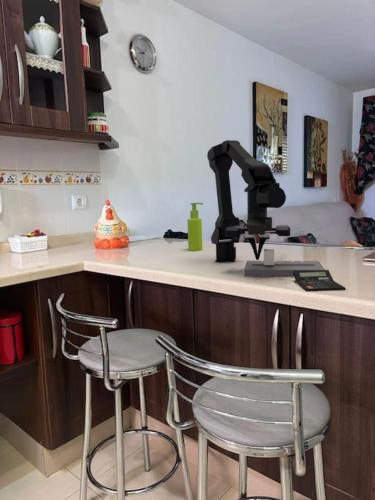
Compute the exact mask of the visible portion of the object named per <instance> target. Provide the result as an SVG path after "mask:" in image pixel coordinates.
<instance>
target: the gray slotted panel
mask: <svg viewBox="0 0 375 500" xmlns="http://www.w3.org/2000/svg"><path fill="white" fill-rule="evenodd" d="M307 270H326V269H325V268H324V267H323V265H322V263H321V262H320V261H319V260H274V265H264V260H246V262H245V264H244V268H243V276H244V277H275V278H278V277H284V278H285V277H287V278H288V277H289V278H294V275H293V271H307Z"/></svg>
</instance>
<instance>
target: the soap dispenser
mask: <svg viewBox="0 0 375 500" xmlns="http://www.w3.org/2000/svg"><path fill="white" fill-rule="evenodd" d="M197 205H204V203H203V202H190V206H191V210H190V211H189V213H190V214H189V218H187V221H186V222H187V242H188V246H187V247H188V251H189V252H199V251H203V230H202V229H203V227H202V226H203V224H202V218H199V210H198V209H197Z"/></svg>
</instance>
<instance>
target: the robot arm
mask: <svg viewBox="0 0 375 500" xmlns="http://www.w3.org/2000/svg"><path fill="white" fill-rule="evenodd" d="M206 156H207V160H208V164H209V165H208V166H209V168H210V169H211V171H212V172H213V173H214V178H215V187H216V190H215V191H216V197H217V207H218V216H217V218H216V220H215V223H214V230H213V232H212V234H211V236H210V240H211V244H214V245H215V262H216V263H217V262H218V263H219V262H221V263H222V262H223V263H225V262H226V263H228V262H229V263H232V262H235V260H236V259H237V247H236V246H235V244H238V243H240V238H241V235H244V240H246V241H247V240H248V242H249V244H250V246H251V249H252V251H253V254H254V257H255V261H260V257H261V254H262V251H263V249H264V248H263V247H264V245H265V243H266V241H267V240H270V239H271V235H277V236H278V237H291V226H289V225H288V224H284V225H283V224H280V225H276V226H275V227H273V216H268V209H280V208H281V207H283V206H284V205H285V203H286V201H287V195H286V193H285V190H284V189H283V188H282V187H280V186H281V185H280V182H277V180H276V178H275V176H274V174H273V172H272V170H271V167H270V166H269V164H267V163H266V162H264V161H261V160H258V159H256V158H254V157H253V156H252V155H251V154H250V153H249V152H248V151H247V150H246V149H245V148H244V147H243V145H242V144H241V142H240V141H239V140H236V139H235V140H234V139H232V140H231V139H226V140H223V141H222V142H221V143H219V144H216V145H214V146H211V148H209V150H208V151H207V154H206ZM234 163H235V164H236V166H238V168H239V169H240V171H241V172H240V173H241V174H240V175H241V178H242V179H243V181H244V183H245V184H246V185H247V186H246V187H245V188H244V190H243V192H244V193H246V195H247V197H246V199H247V202H246V203H247V205H246V206H247V208H246V209H247V219H246V227H241V225H240V218H239V216H236V215H235V214H234V211H233V210H234V208H233V201H232V200H233V199H232V191H231V190H232V188H231V178H230V170H231V168H232V166H233V164H234ZM256 235H259V239H258V246H257V239H256Z"/></svg>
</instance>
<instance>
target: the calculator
mask: <svg viewBox="0 0 375 500" xmlns="http://www.w3.org/2000/svg"><path fill="white" fill-rule="evenodd" d="M293 275H294V277H293V278H294V281H295V282H296V285H297V286H299V287H300V288H301V289H303V290H304V291H305V292H327V291H329V292H333V291H346V290H347V289H346V287H345V286H343V285H342V284H340V283H338V281H337V282H336V281H335V280H334V279H333V277H332V274H331V273H330V270H329V269H325V270H307V271H293Z"/></svg>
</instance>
